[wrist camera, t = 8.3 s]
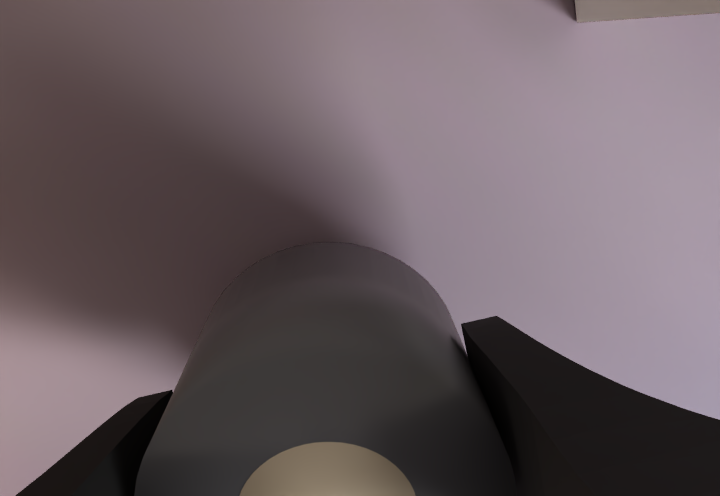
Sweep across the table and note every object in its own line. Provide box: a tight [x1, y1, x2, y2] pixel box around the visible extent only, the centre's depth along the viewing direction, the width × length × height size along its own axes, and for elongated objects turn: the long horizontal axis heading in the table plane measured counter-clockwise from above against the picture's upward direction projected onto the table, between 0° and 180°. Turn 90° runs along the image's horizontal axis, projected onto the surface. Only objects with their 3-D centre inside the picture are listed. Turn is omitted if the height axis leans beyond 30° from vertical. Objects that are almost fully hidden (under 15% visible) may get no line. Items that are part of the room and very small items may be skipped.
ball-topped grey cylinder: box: [134, 242, 517, 496], centre depth 10 cm, size 5×5×4 cm
